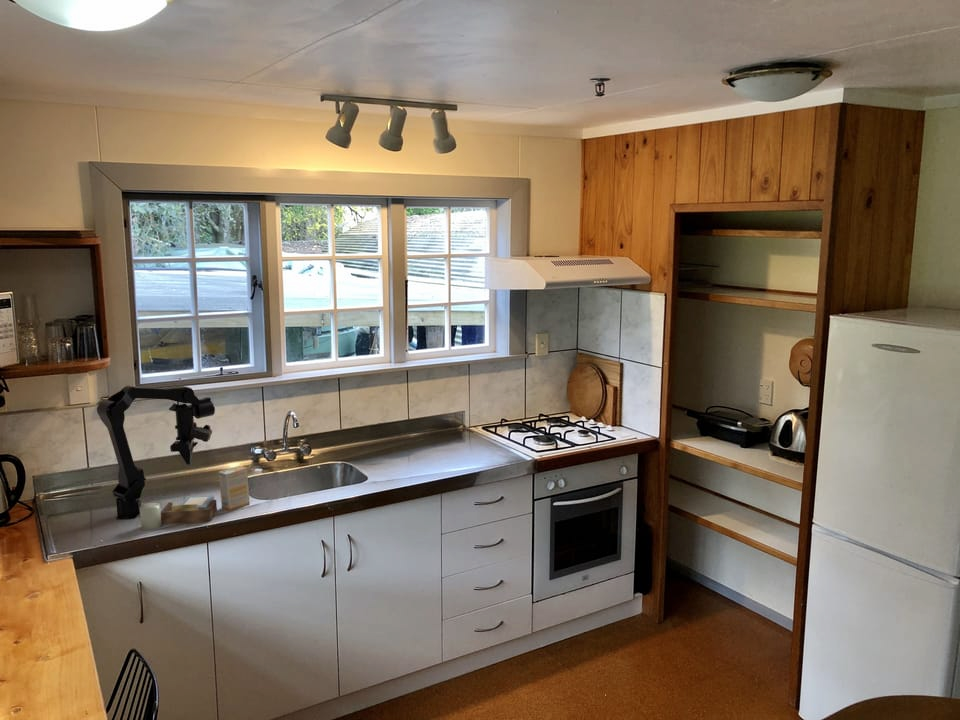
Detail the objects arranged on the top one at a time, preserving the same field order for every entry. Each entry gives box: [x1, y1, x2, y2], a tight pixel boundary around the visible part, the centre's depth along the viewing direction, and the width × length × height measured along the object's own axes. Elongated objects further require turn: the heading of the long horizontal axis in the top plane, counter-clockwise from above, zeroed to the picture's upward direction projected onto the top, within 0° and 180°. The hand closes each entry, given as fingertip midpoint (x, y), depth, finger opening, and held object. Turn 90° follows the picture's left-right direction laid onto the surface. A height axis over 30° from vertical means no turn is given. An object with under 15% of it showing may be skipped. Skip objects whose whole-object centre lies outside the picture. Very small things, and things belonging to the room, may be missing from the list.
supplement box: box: [218, 465, 251, 511], centre depth 259 cm, size 8×5×13 cm, turn 141°
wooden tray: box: [161, 499, 218, 525], centre depth 249 cm, size 15×10×6 cm, turn 97°
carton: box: [179, 494, 215, 509], centre depth 252 cm, size 9×11×5 cm
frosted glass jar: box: [139, 502, 163, 531], centre depth 242 cm, size 6×6×7 cm
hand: (188, 464), depth 268 cm, fingers closed
